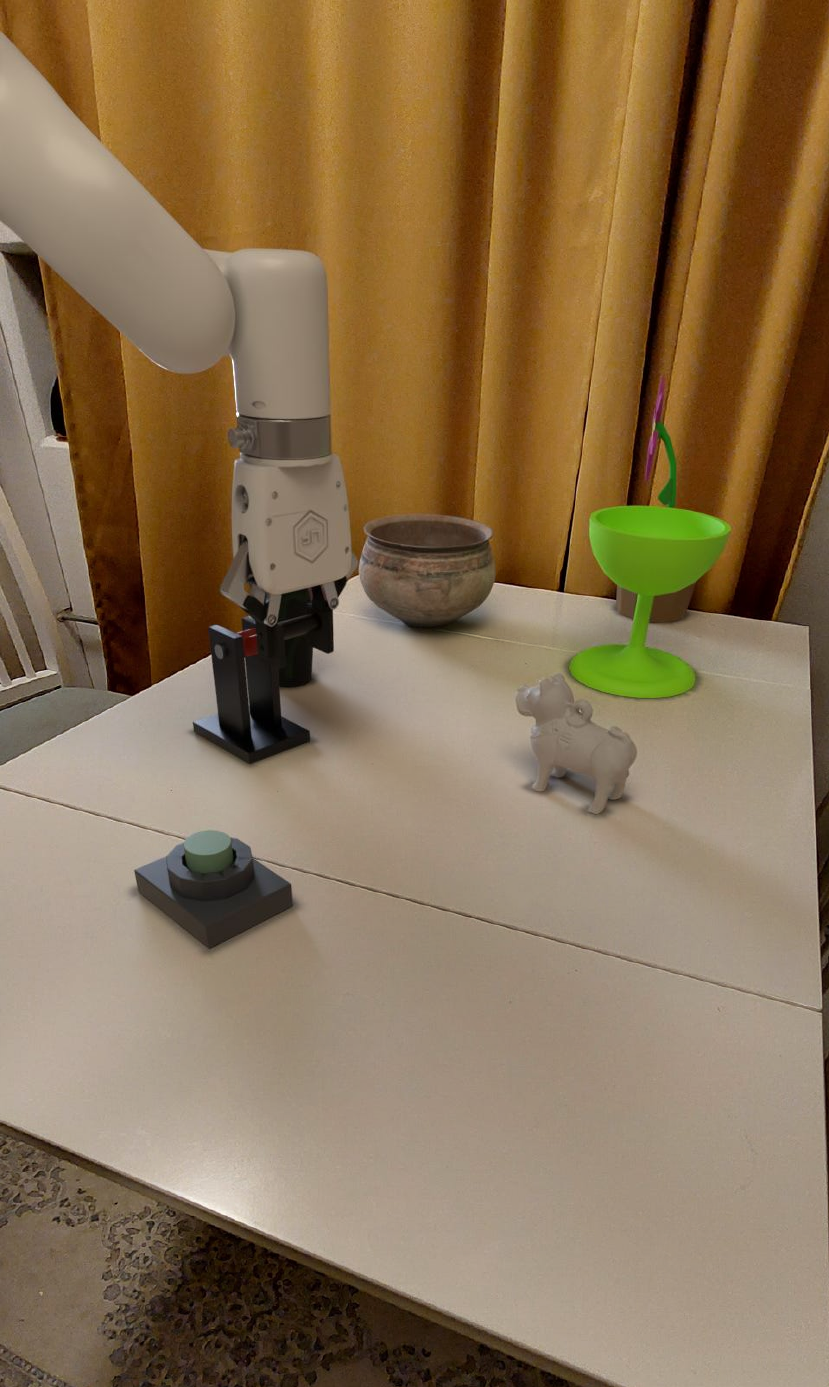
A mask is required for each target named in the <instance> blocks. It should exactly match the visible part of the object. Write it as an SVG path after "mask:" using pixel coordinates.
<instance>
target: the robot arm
mask: <svg viewBox="0 0 829 1387" xmlns="http://www.w3.org/2000/svg"><path fill="white" fill-rule="evenodd" d="M0 222H1V223H2V224H3V225H4V226H5V227H7V228H8V229H9V230H10V231H11V232H12V233H14V234H15V235H16V236H17V237H18V238H19V239H20V240H21V241H23V243H25V244H26V245H27V246H28V247H29V248H30V249H31V250H32V252H34V253H35V254H36V255H37V256H38V257H39V258H41V259H42V260H43V261H44V262H45V263H46V264H47V266H49V267H50V268H51V269H52V270H53V271H54V272H55V273H56V274H57V275H59V276H60V277H61V278H62V279H63V281H65V282H66V283H67V284H68V285H69V286H70V287H71V288H72V289H73V290H74V291H75V292H77V293H78V294H79V295H80V296H81V297H82V298H83V299H84V300H85V301H86V302H87V303H88V304H90V306H92V307H93V308H94V309H95V310H96V311H97V312H98V313H99V314H100V315H101V316H103V318H104V319H105V320H107V321H108V322H109V323H110V324H111V325H112V326H113V327H114V328H115V329H116V330H118V332H120V334H122V335H123V336H124V337H125V338H126V339H127V340H128V341H129V342H130V343H131V344H132V345H134V347H135V348H136V349H138V350H139V351H140V352H141V353H142V354H143V355H144V356H145V357H147V359H149V360H150V361H151V362H153V363H155V365H157V366H159V367H161V368H163V369H165V370H167V371H169V372H172V373H177V374H182V375H192V374H198V373H202V372H205V371H207V370H209V369H210V368H212V367H213V366H215V365H216V364H217V363H219V362H220V360H221V359H222V358H223V357H225V356H229V357H230V359H231V362H232V370H233V371H232V372H233V384H234V398H235V407H236V409H235V410H236V427H235V428H230V429H228V431H227V441H228V444H229V445H230V447H231V448H233V449H237V448H238V451H239V456H240V458H236V459H235V460H234V468H233V475H232V488H231V489H232V490H231V491H232V492H231V538H232V539H231V540H232V556H233V560H232V561H231V563H230V566H229V568H228V570H227V572H226V574H225V576H224V578H223V579H222V582H221V584H220V586H219V591H220V594H221V595H222V596H224V597H225V598H227V599H229V600H230V601H231V602H233V603H234V604H236V605H237V606H238V607H239V608H240V609H242V611H243V612H245V613H246V614H247V615H248V616H249V617H250V618H251V619H254V620H255V627H256V639H257V651H258V654H259V658H260V660H261V661H262V662H264V663H267V664H269V665H271V666H273V667H275V668H277V669H280V668H284V667H285V665H286V660H285V644H284V628H283V626H282V625H281V624H279V623H277V620H278V614H279V608H280V602H281V595H282V594H284V593H288V592H292V591H297V590H301V589H305V588H308V592H309V595H310V599H311V601H312V603H307V607H306V615H309V614H312V613H316V614H318V616H319V617H320V619H321V628H320V629H319V630H317V631H313V632H310V633H307V643H308V645H309V646H311V647H313V649H315V650H318V651H320V652H323V653H324V654H328V655H329V654H332V653H333V652H334V651H335V645H334V641H335V640H334V636H335V634H334V611H335V610H336V609H337V608H338V607H339V603H340V600H339V597H340V596H341V594H342V593H343V591H344V589H345V588H346V585H347V583H348V580H349V579H350V577H352V575H353V573H354V572H355V571H356V569H357V568H358V567H359V559H358V557H357V556H356V554H355V553H354V551H353V550H352V532H351V521H350V519H351V518H350V510H349V508H350V507H349V499H348V493H347V487H346V481H345V476H344V475H345V474H344V471H343V466H342V463H341V459H340V456H339V455H338V454H334V453H333V452H332V451H333V449H332V447H333V446H332V442H333V441H332V414H331V412H332V406H331V405H332V404H331V371H330V370H331V369H330V365H331V364H330V330H329V328H330V327H329V326H330V325H329V287H328V276H327V270H326V267H325V264H324V263H323V261H322V260H321V259H320V258H319V257H318V256H317V255H316V254H315V253H313V252H311V251H308V250H307V251H306V250H299V249H285V248H242V249H239V250H236V251H234V252H229V251H222V250H221V251H219V250H214V249H207V248H203V247H202V246H201V245H199V243H197V241H196V240H195V239H194V238H193V237H192V236H191V235H190V234H189V233H188V232H187V231H186V230H185V229H184V228H183V227H182V225H181V224H180V223H178V221H177V220H176V219H175V217H173V216H172V215H171V214H170V213H169V212H168V211H167V210H166V208H164V206H162V205H161V203H160V202H158V200H157V199H156V198H155V197H154V196H153V195H152V194H151V193H150V192H149V191H148V190H147V188H146V187H145V186H143V184H142V183H141V182H140V181H139V180H138V179H137V178H136V177H135V176H134V175H133V174H132V173H131V172H130V171H129V170H128V169H127V168H126V167H125V165H123V164H122V163H121V161H120V160H119V159H118V158H117V157H116V156H115V155H114V154H113V153H112V152H111V151H110V150H109V149H108V148H107V147H106V146H105V144H103V143H102V141H100V139H98V137H96V135H95V134H94V133H93V132H92V131H91V130H90V129H89V128H88V127H87V125H86V124H84V123H83V121H81V119H80V118H79V117H78V116H77V115H76V114H75V113H74V112H73V110H71V108H70V107H69V106H68V105H67V104H66V102H65V101H64V100H63V99H62V97H61V96H60V95H59V94H58V92H57V91H56V89H55V88H54V87H53V86H52V84H51V83H50V82H49V81H48V80H47V79H46V77H45V76H44V75H43V74H42V73H41V72H40V71H39V69H37V68H36V66H34V64H33V63H32V62H31V61H30V60H29V59H28V58H27V57H26V55H24V54H23V52H22V51H21V50H20V49H19V48H18V47H17V46H16V45H15V44H14V43H13V42H12V41H11V40H10V39H9V37H7V36H6V35H5V33H3V32H2V31H1V30H0ZM246 584H248V585H249V584H252V589H251V591H250V593H249V592H248V591H247V590H246V587H245V585H246ZM265 593H266V594H267V597H266V603H265V606H264V599H265Z"/></svg>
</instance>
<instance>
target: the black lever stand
mask: <svg viewBox="0 0 829 1387" xmlns="http://www.w3.org/2000/svg"><path fill="white" fill-rule="evenodd" d="M253 628H255V629H256V627H255V620H254V619H251V618H250V617H249V615H248V616H245V617H241V630H242V631H246V630H249V629H253ZM207 629H208V637H209V638H208V639H209V647H210V656H211V662H212V663H211V664H212V674H213V681H214V689H215V698H216V707H217V708H216V709H217V713H215V714H212V715H208V716H206V717H203V718H200V719H197V720H194V721H192V726H193V728H192V729H193V732H194V733H195V734H197V735H199V736H200V737H202V738H204V739H206V740H207V741H209V742H211V743H212V744H215V745H216V746H217V747H219V748H221V749H223V750H225V751H226V752H228V753H230V754H232V755H233V756H235V757H237V758H239V759H241V760H242V761H244V762H246V763H247V764H253V763H255V762H259V761H261V760H263V759H266V758H269V757H271V756H274V755H277V754H279V753H282V752H285V751H288V750H290V749H292V748H296V747H298V746H300V745H303V744H305V743H308V742H311V731H310V729H307V728H306V727H303V726H301V725H299V724H297V723H296V722H294V721H291V720H289V719H287V718H286V717H284V716H282V704H281V690H280V689H281V688H280V687H279V674H278V669H277V668H275V667H273V666H271V665H269V664H267V663H264V662H262V661H261V660H260V658H259V654H255V655H252V656H249V657H245V658H244V647H243V637H242V636H240V635H238V634H236V633H237V632H234V631H231V630H229V629H227V628H225V627H222V626H220V625H218V624H214V625H209V626H208V628H207ZM242 631H241V632H242Z"/></svg>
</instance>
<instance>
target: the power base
mask: <svg viewBox="0 0 829 1387" xmlns="http://www.w3.org/2000/svg"><path fill="white" fill-rule="evenodd" d="M229 837H230V838H231V842H232V851H233V863H232V865H231V866H230V867H228V868H226V869H224V870H221V871H218V872H210V873H200V872H194V871H192V870H190V869H189V868H188V867H187V864H186V858H185V851H184V842H181V843H179V844H176V845H175V846H174V847H173V849H172V850H171V851H170V852H169V853H168V854H167V855H166V856H163V857H161V858H158V859H157V860H154V861H152V862H150V863H146V864H145V865H142V866H140V867H138V868H135V869H134V871H133V872H134V877H135V882H136V886H137V892H138V893H139V894H141V896H143V897H144V898H145V899H146V900H148V901H149V902H150V903H151V904H153V905H154V906H155V907H157V908H158V909H159V910H160V911H162V912H163V913H164V914H165V915H167V916H168V917H169V918H170V919H171V920H173V921H174V922H175V923H176V924H178V925H179V926H180V927H182V928H183V929H184V930H185V931H187V932H188V933H189V934H190V935H192V936H193V937H194V938H195V939H196V940H198V941H199V942H201V944H203V945H204V946H205V947H207V949H212V948H214V947H215V946H217V945H219V944H221V943H223V942H225V941H227V940H229V939H231V938H233V937H235V936H237V935H239V934H241V933H243V932H245V931H247V930H249V929H251V928H252V927H255V926H256V925H259V924H261V923H262V922H264V921H266V920H268V919H271V918H272V917H274V916H275V915H277V914H280V913H282V912H284V911H285V910H287V909H289V908H291V907H293V906H294V904H293V902H294V901H293V890H292V888H293V886H292V883H291V882H289V881H288V880H286V879H285V878H284V877H282V876H280V875H279V874H277V873H276V872H275V871H273V870H271V869H270V868H269V867H267V866H266V865H265V864H263V863H261V862H259V861H258V860H257V859H255V858H254V856H253V852H252V849H251V846H250V845H248V844H246V843H245V842H243V841H242V840H241V839H240V838H237V837H231V836H229Z"/></svg>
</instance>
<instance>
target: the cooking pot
mask: <svg viewBox="0 0 829 1387" xmlns="http://www.w3.org/2000/svg"><path fill="white" fill-rule="evenodd" d="M363 530H364V533H365V534H366V535H367V537H366V540H365V542H364V544H363V548H362V551H361V555H360V560H359V563H358V578H359V582H360V584H361V586H362V589H363V591H364V593H365V595H366V596H367V598H368V599H369V600H370V601H371V602H372V603H373V604H374V605H375V606H376V607H377V608H379V609H381V610H382V611H384V612H385V613H387V614H389V615H390V616H392V617H394V618H396V619H397V620H399V621H401V622H402V623H403V624H405V625H407V626H409V627H413V628H418V629H438V628H442V627H445V626H447V625H448V624H449V623H452V622H454V621H456V620H458V619H460V618H462V617H464V616H466V615H468V614H469V613H471V612H473V611H475V610H476V609H477V608H479V607H480V606H481V605H482V604H483V603H484V602H485V601H486V600H487V598H488V597H489V595H490V594H491V591H492V589H493V587H494V584H495V581H496V575H497V574H496V573H497V571H496V570H497V569H496V564H495V563H496V562H495V557H494V553H493V550H492V546H491V542H490V540H491V539H492V538H493V536H494V530H493V529H492V528H491V526H489V525H487V524H485V523H483V522H481V521H478V520H475V519H470V518H466V517H461V516H454V515H447V514H435V513H433V514H432V513H408V514H405V513H404V514H396V515H389V516H382V517H379V518H376V519H375V518H374V519H372V520H371V521H368V522H367V523H366V524H365V525H364V526H363Z"/></svg>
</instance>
